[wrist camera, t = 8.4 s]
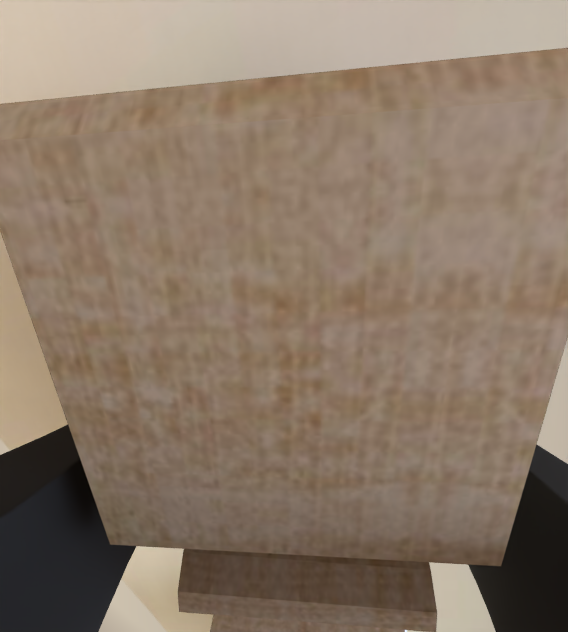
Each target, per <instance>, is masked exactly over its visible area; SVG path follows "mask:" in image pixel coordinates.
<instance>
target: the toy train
mask: <svg viewBox="0 0 568 632" xmlns="http://www.w3.org/2000/svg"><path fill="white" fill-rule="evenodd" d="M0 232H1V234H2V237H3V240H4V243H5V246H6V249H7V251H8V254H9V257H10V260H11V263H12V266H13V269H14V271H15V274H16V277H17V280H18V283H19V286H20V289H21V291H22V294H23V297H24V300H25V303H26V306H27V308H28V311H29V314H30V317H31V320H32V323H33V326H34V328H35V331H36V334H37V337H38V340H39V343H40V346H41V348H42V351H43V354H44V357H45V360H46V363H47V365H48V368H49V371H50V374H51V377H52V380H53V383H54V385H55V388H56V391H57V394H58V397H59V400H60V403H61V405H62V408H63V411H64V414H65V417H66V420H67V423H68V425H69V428H70V431H71V434H72V437H73V440H74V442H75V445H76V448H77V451H78V454H79V457H80V460H81V462H82V465H83V468H84V471H85V474H86V477H87V480H88V482H89V485H90V488H91V491H92V494H93V497H94V499H95V502H96V505H97V508H98V511H99V514H100V517H101V519H102V522H103V525H104V528H105V531H106V534H107V537H108V539H109V542H110V545H128V546H146V547H164V548H182V549H184V552H183V559H182V566H181V573H180V580H179V587H178V602H179V612H187V613H200V614H214V616H213V620H212V625H211V629H210V632H405V630H413V631H426V632H436V623H437V609H436V602H435V596H434V589H433V583H432V576H431V570H430V565H429V562H434V563H452V564H470V565H488V566H501V564H502V561H503V557H504V554H505V550H506V547H507V544H508V540H509V537H510V533H511V530H512V526H513V523H514V520H515V516H516V513H517V509H518V506H519V502H520V499H521V496H522V492H523V489H524V485H525V482H526V478H527V475H528V472H529V468H530V465H531V461H532V458H533V454H534V451H535V447H536V444H537V441H538V437H539V434H540V430H541V427H542V423H543V420H544V417H545V413H546V410H547V406H548V403H549V399H550V396H551V393H552V389H553V386H554V382H555V379H556V375H557V372H558V369H559V365H560V362H561V358H562V355H563V351H564V348H565V344H566V341H567V338H568V48H561V49H551V50H541V51H531V52H521V53H511V54H501V55H491V56H481V57H470V58H460V59H450V60H440V61H430V62H420V63H410V64H400V65H389V66H379V67H369V68H359V69H349V70H339V71H329V72H319V73H309V74H298V75H288V76H278V77H268V78H258V79H248V80H238V81H228V82H217V83H207V84H197V85H187V86H177V87H167V88H157V89H147V90H137V91H126V92H116V93H106V94H96V95H86V96H76V97H66V98H56V99H45V100H35V101H25V102H15V103H5V104H0Z"/></svg>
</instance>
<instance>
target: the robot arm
mask: <svg viewBox="0 0 568 632" xmlns="http://www.w3.org/2000/svg"><path fill="white" fill-rule="evenodd" d="M135 548H136V546H128V545H110V542H109V539H108V537H107V534H106V531H105V528H104V525H103V522H102V519H101V517H100V514H99V511H98V508H97V505H96V502H95V499H94V497H93V494H92V491H91V488H90V485H89V482H88V480H87V477H86V474H85V471H84V468H83V465H82V462H81V460H80V457H79V454H78V451H77V448H76V445H75V442H74V440H73V437H72V434H71V431H70V428H69V425H66V426H64V427H62V428H60V429H58V430H56V431H54V432H51V433H49V434H47V435H45V436H43V437H41V438H38V439H36V440H34V441H32V442H30V443H27V444H25V445H23V446H20V447H18V448H16V449H13V450H11V451H9V452H6V453H4V454H2V455H0V632H98V631H99V629H100V626H101V624H102V621H103V619H104V617H105V614H106V612H107V610H108V608H109V605H110V603H111V601H112V598H113V596H114V594H115V592H116V589H117V587H118V585H119V582H120V580H121V578H122V576H123V573H124V571H125V569H126V566H127V564H128V562H129V560H130V558H131V556H132V554H133V552H134V550H135ZM468 565H469V567H470V570H471V572H472V574H473V576H474V578H475V580H476V583H477V585H478V587H479V590H480V592H481V594H482V597H483V599H484V602H485V604H486V606H487V609H488V611H489V614H490V617H491V620H492V622H493V625H494V628H495V630H496V632H568V464H567V463H565V462H563V461H562V460H560V459H559V458H557V457H555V456H554V455H552V454H551V453H549V452H547V451H546V450H544V449H543V448H541V447H540V446H538V445H537V444H536V447H535V451H534V454H533V458H532V461H531V465H530V468H529V472H528V475H527V478H526V482H525V485H524V489H523V492H522V496H521V499H520V502H519V506H518V509H517V513H516V516H515V520H514V523H513V526H512V530H511V533H510V537H509V540H508V544H507V547H506V550H505V554H504V557H503V561H502V564H501V566H488V565H470V564H468ZM405 632H407V631H406V630H405Z"/></svg>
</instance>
